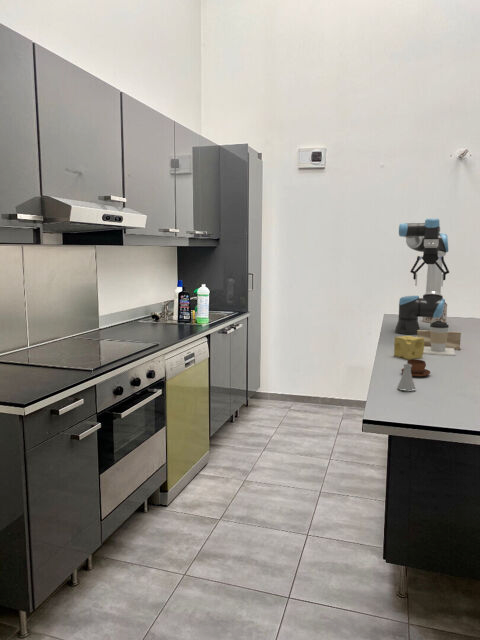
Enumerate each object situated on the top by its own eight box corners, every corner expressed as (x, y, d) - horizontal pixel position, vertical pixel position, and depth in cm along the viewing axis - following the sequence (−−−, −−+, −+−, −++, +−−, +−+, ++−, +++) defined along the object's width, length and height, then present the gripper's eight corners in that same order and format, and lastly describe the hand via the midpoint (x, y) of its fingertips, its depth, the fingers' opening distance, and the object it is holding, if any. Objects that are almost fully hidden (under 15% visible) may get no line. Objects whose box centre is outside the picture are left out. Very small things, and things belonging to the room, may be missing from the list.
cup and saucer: (407, 370, 237) (408, 357, 236) (434, 374, 229) (435, 360, 229) (396, 375, 228) (397, 361, 227) (424, 380, 220) (424, 365, 219)
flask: (394, 387, 209) (395, 362, 208) (411, 386, 210) (413, 362, 208) (400, 392, 202) (402, 367, 201) (419, 392, 203) (420, 366, 201)
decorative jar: (421, 321, 378) (423, 296, 375) (434, 320, 382) (435, 295, 380) (434, 324, 367) (435, 298, 364) (446, 322, 372) (448, 297, 369)
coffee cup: (448, 352, 270) (450, 323, 268) (430, 351, 272) (431, 322, 270) (445, 348, 279) (447, 320, 277) (427, 348, 281) (429, 320, 278)
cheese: (408, 360, 257) (409, 339, 255) (392, 355, 266) (393, 336, 265) (423, 357, 262) (424, 338, 260) (407, 353, 271) (408, 334, 270)
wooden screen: (416, 345, 292) (417, 329, 291) (459, 348, 285) (460, 331, 283) (416, 347, 287) (417, 331, 285) (460, 350, 279) (461, 333, 278)
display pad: (422, 347, 286) (422, 346, 286) (453, 349, 280) (454, 348, 280) (421, 353, 271) (421, 352, 271) (455, 355, 265) (455, 354, 265)
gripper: (406, 247, 289) (405, 285, 292) (455, 247, 281) (453, 287, 284) (407, 247, 296) (405, 284, 299) (455, 247, 288) (452, 285, 291)
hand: (428, 286), depth 292 cm, fingers open, 13 cm apart
